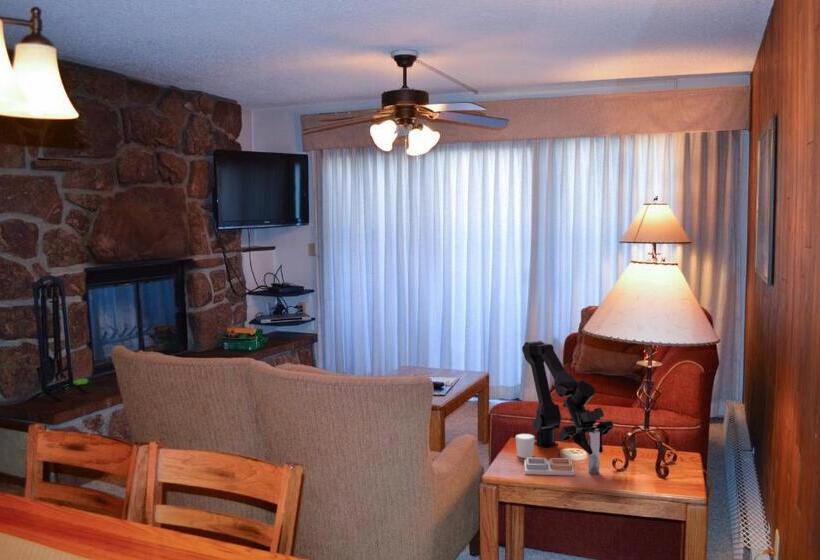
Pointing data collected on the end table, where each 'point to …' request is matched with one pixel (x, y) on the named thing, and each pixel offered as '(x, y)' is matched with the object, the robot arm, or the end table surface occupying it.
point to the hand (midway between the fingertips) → (596, 453)
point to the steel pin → (594, 452)
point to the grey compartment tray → (548, 466)
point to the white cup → (525, 445)
